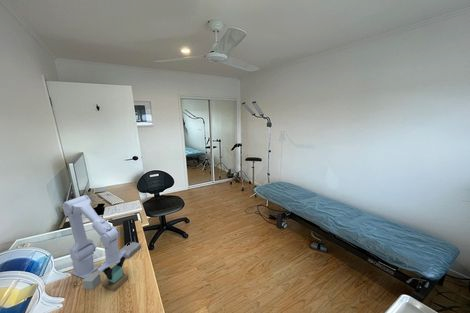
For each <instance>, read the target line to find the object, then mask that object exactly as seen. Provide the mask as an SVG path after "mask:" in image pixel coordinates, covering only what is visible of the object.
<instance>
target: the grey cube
mask: <svg viewBox="0 0 470 313" xmlns="http://www.w3.org/2000/svg"><path fill="white" fill-rule="evenodd" d="M101 282H102V280H101V274H100V273H98V272H92V273H90V274H89V275H88V276H87V277H85V278H83V280H82V286H83V290H94V289H95V288H96V287H97V286H98V285H99V284H100V283H101Z"/></svg>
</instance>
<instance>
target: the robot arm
mask: <svg viewBox="0 0 470 313" xmlns="http://www.w3.org/2000/svg"><path fill="white" fill-rule="evenodd" d="M61 206H62V210H63V214H64V216H65V217H68V221H69V224H70V229H71V233H72V236H73V239H74V240H73V241H74V243H73V245H72V247H71V248H69V250H70V251H69V252H70V254H69V255H70V256H69V257H70V259H71V261H72V267H73V271H72V272H71V274H72V275H74V276H77V277H79V278H82V279H85V278H86V277H87V276H88V275H89V274H90V273H94V272H95V271H96V270H97V273H100V275H101V274H104V275H105V276H106V279H107V278H108V279H109V280H111V279H112V269H111V268H112V267H113V266H114V265H117V266H120V267H122V268H123V265H124V263H125V261H126V258H125V257H123V255H126V254H127V251H125V250H123V251H122V252H120V253H119V251H120V250H119V241H118V238H119V237H120V235H121V233H120V230H119V229H118V228H117V227H116V226H114V225H111V224H110V223H109V222H108V221H107V219H105V218H104V217H103V218H102V217H100V216H99V215H98V213H97V212H96V210H95V209H94V207H92V200H91V198H90V197H89V196H88V195H87V194H84V195H80V196H79V197H75V198H72V199H70V200H66V201H64V202H63V204H62V205H61ZM81 214H82V215H81ZM82 216H85V218H86V219H88V221H90V222H91V223H92V225H91V227H92V229H93V230H95V232H96V233H97V234H98V235H99V236H100V238H99V239H100V241H101V243H102V246H103V247H104V254H105V261H104V262H103V263H102V265H101V266H100V267H99V266H96V265H95V264H94V257H93V256H94V254H95V252H96V250H97V247H96V246H97V245H96V244H95V243H94V240H92V239H90V238H88V237H87V234H86V231H85V225H84V222H83V219H82V218H83V217H82Z"/></svg>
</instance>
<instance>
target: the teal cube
mask: <svg viewBox="0 0 470 313" xmlns="http://www.w3.org/2000/svg"><path fill="white" fill-rule="evenodd" d="M110 268H111V269H112V279H111V280H109V279H108V278H107V277H106V279H107V280H108V281H110V282H113V283H115V282H116V281H117V280H119V279H120V278H121V277H122V276H123V273H124V272H123V271H124V270H123V266H122V267H120V266H117V265H116V264H114V265H112V266H111V267H110Z"/></svg>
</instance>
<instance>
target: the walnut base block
mask: <svg viewBox="0 0 470 313" xmlns="http://www.w3.org/2000/svg"><path fill="white" fill-rule="evenodd" d="M128 280H129V275H128V274H126V273H124V272H123V276H122V277H121V278H120V279H119V280H117V281H116V282H115V283H113V282H110V281H108V280H107V278H106V279H104V280H103V282H102V281H101V282H102V283H101V285H102V288H104V289H106V290H109V291H112V292H116V291H117V290H118V289H119V288H120V287H121V286H123V284H124V283H125V282H127V281H128Z"/></svg>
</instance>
